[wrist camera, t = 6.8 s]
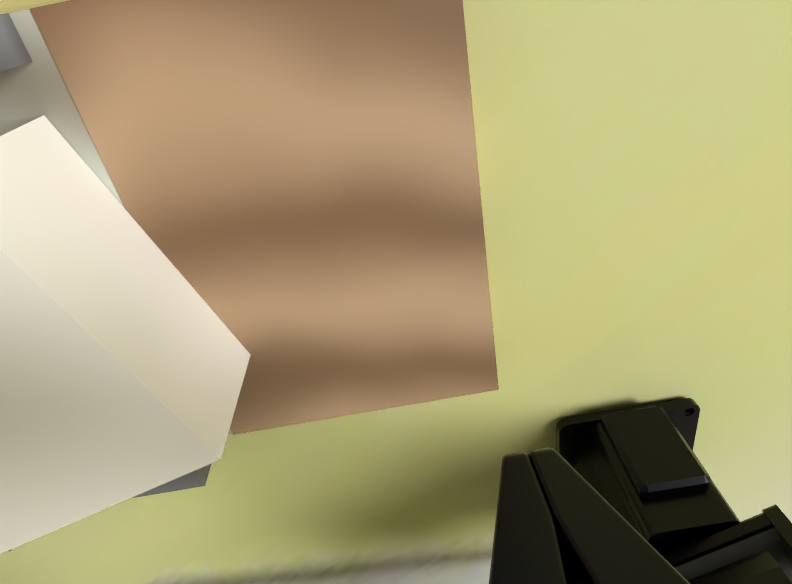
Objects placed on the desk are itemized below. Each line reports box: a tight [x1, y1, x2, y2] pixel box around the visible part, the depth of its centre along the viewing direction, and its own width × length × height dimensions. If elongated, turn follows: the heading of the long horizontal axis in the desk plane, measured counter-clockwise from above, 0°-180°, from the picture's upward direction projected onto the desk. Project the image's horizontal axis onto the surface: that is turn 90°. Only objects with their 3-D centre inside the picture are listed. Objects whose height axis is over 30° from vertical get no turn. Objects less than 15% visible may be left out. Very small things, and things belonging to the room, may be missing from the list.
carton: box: [0, 115, 251, 554], centre depth 16 cm, size 10×9×5 cm
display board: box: [0, 0, 498, 498], centre depth 17 cm, size 16×22×5 cm
